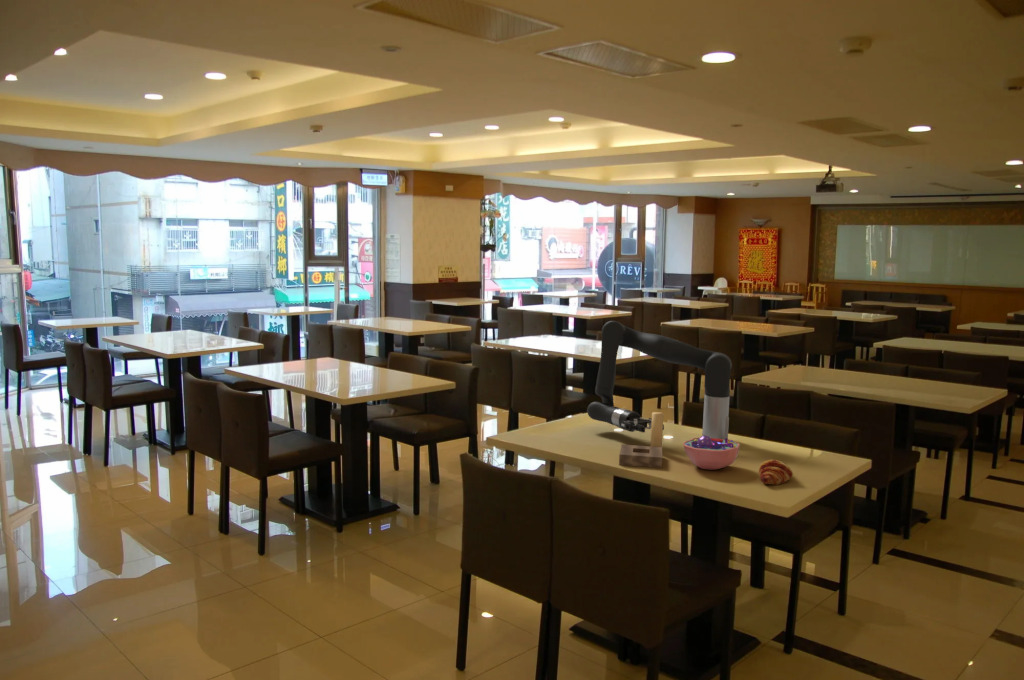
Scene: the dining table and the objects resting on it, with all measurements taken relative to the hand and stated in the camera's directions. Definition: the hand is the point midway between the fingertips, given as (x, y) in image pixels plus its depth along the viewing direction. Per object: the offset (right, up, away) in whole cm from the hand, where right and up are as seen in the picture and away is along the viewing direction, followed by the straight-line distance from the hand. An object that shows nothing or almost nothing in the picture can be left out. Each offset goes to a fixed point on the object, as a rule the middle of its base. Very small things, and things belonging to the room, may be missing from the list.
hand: (653, 428), depth 273 cm
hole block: (-7, -9, -13) cm, 18 cm away
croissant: (+33, -13, -31) cm, 47 cm away
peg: (+1, -8, -1) cm, 8 cm away
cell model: (+15, -11, -20) cm, 27 cm away
